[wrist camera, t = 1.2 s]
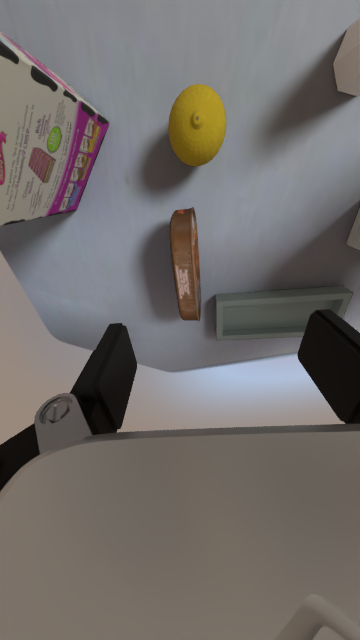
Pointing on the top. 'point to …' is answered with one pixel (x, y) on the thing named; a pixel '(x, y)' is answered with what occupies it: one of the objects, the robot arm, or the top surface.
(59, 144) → the candy bar box
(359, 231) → the skincare box
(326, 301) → the tray
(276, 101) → the top surface
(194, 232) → the tin
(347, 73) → the pepper shaker
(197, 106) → the lemon
